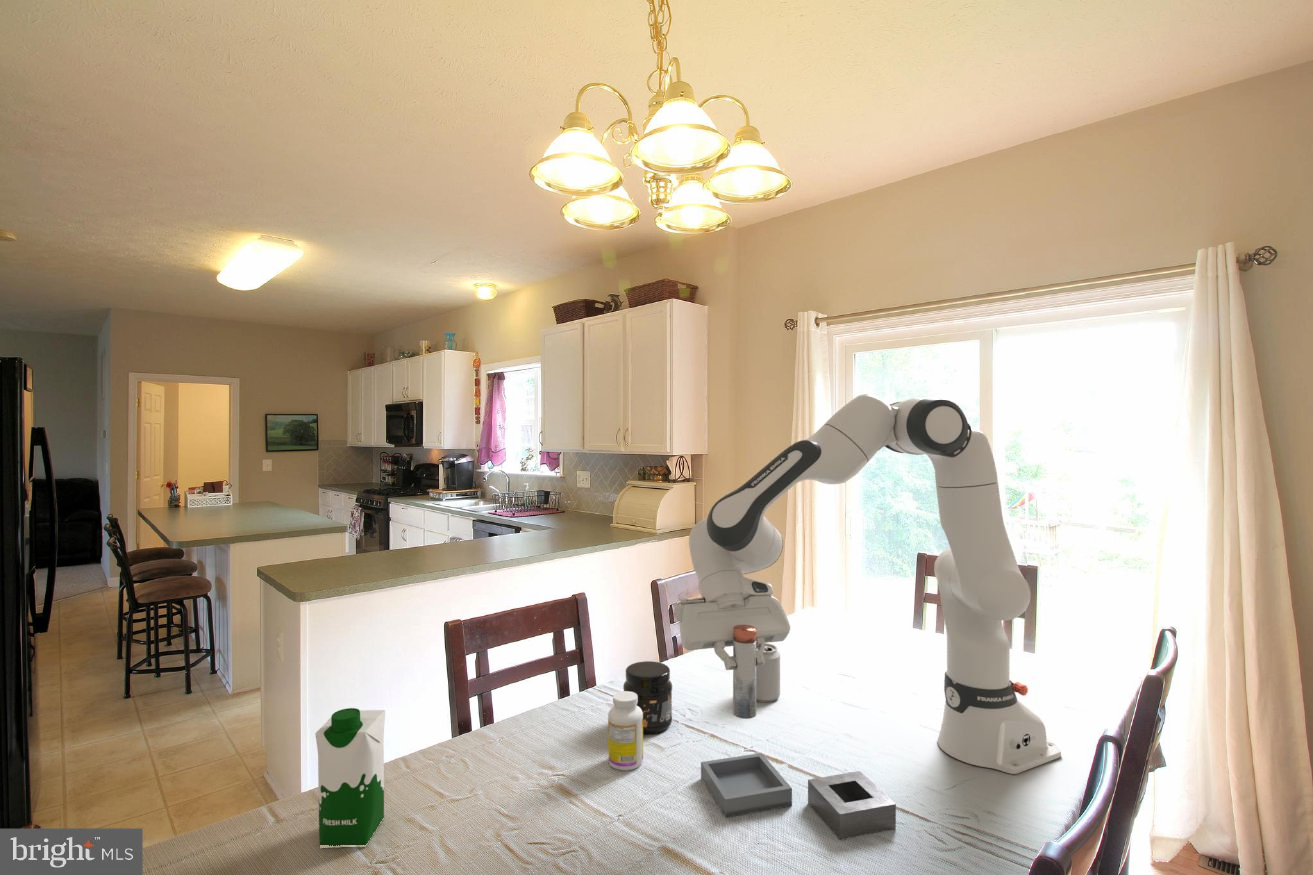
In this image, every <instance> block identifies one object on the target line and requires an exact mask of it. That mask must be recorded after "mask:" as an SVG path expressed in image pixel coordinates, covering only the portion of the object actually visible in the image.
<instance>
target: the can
mask: <svg viewBox="0 0 1313 875" xmlns="http://www.w3.org/2000/svg"><path fill="white" fill-rule="evenodd" d="M757 651H758V649H756V654H757ZM763 656H764V659H765V664H764V666H762V667H756V700H757V701H756V702H760V701H761V703H771V702H775V700H777V699H779V697H780V696H781V654H780V652H779V651H778V646H776V645H775V644H771V643H765V647H764V652H763Z"/></svg>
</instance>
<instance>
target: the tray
mask: <svg viewBox="0 0 1313 875" xmlns="http://www.w3.org/2000/svg"><path fill="white" fill-rule="evenodd" d="M700 780H701V781H702V782H703V784H704V786H705V787H706V789H707V790H708V792H709V793H710V795H711V797H712V799H713V800H714V802H715V803H716V805H717V807H718V808H719V810H720V811H721V813H722V815H723V816H724V818H731V817H736V816H742V815H747V814H752V813H758V812H765V811H770V810H775V809H780V808H787V807H792V806H793V787H792V786H791V785H790V784H789V783H788V782H787V780H785V778H784V777H783V776H782V775H781V774H780V772H779V771H778V770H777V769H776V768H775V767H774V766H773V764H772V763H771V762H770V761H769V759H768V758H766V756H765V755H764V753H762V752H758V753H753V754H745V755H740V756H739V755H738V756H733V757H732V756H731V757H725V758H718V759H713V760H712V759H711V760H706V761H705V760H704V761H701V762H700Z"/></svg>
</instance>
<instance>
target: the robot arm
mask: <svg viewBox="0 0 1313 875" xmlns="http://www.w3.org/2000/svg"><path fill="white" fill-rule="evenodd" d="M884 447H885V448H886V449H888V450H890V451H891V452H896V453H897V454H907V455H912V456H913V455H916V456H921V455H922V456H923V455H926V456H927V457H928V458H929V459H930V462H931V464H932V466H933V469H934V474H935V475H934V477H935V478H934V479H935V488H936V496H937V505H938V514H939V520H940V521H939V522H940V525H941V528H942V530H943V532H944V535H945V537H946V540H947V542H948V545H949V548H947V549H945V550H943V551H941V552H940V553H939V555H938V556H937V558H936V560H934V565H933V571H934V572H933V573H934V576H935V579H936V581H937V584H938V589H939V595H940V602H941V609H942V614H943V615H942V616H943V620H944V625H945V634H946V671H945V673H944V679H943V682H944V683H943V691H944V698H945V704H944V708H943V717H942V721H941V726H940V730H939V734H938V737H937V745H938V746H939V748H940V749H941V750H942V751H943V752H944V753H946V754H948V755H949V756H951V757H952V758H954V759H956V760H959V761H961V762H964V763H967V764H970V765H974V766H977V767H982V768H987V769H995V770H998V771H1001V772H1004V773H1007V774H1011V775H1012V774H1013V775H1017V774H1020V773H1023V772H1025V771H1028V770H1030V769H1032V768H1035V767H1038V766H1041V765H1043V764H1046V763H1048V762H1052V761H1054V760H1056V759H1059V758H1062V752H1061V749H1060V748H1059V747H1058V746H1057V745H1056V744H1055V743H1053V742H1052V741H1051V740H1050V739H1048V738H1047V731H1046V727H1045V723H1044V721H1043V720H1042V718H1040V716H1039V715H1038V714H1036V713H1035V712H1034V711H1032V710H1031V709H1030V708H1028V707H1027V706H1026V705H1025V704H1024V703H1022V702H1021V701H1020V700H1019V699H1018V697H1017V695H1016V693H1018V694H1019V695H1021V696H1026V695H1027V694H1028V693H1029V688H1028V686H1027V685H1025V684H1022V683H1021V682H1019V681H1017V682H1013V681H1012V680H1011V679H1010V658H1011V657H1010V650H1011V649H1010V647H1011V646H1010V641H1009V638H1008V636H1007V634H1006V631H1005V629H1004V625H1003V622H1002V621H1010V620H1015V619H1016V618H1018V617H1019V616H1021V615H1023V614H1024V613H1025V611H1026V610H1027V609H1028V607H1029V604H1030V601H1031V589H1030V585H1029V584H1028V581H1027V580H1026V579H1025V577H1024V576H1023V574H1022V572H1021V570H1020V567H1019V565H1018V563H1017V559H1016V556H1015V553H1014V551H1013V548H1012V544H1011V542H1010V539H1009V536H1008V533H1007V530H1006V527H1005V523H1004V517H1003V511H1002V504H1001V497H1000V496H1001V495H1000V494H1001V493H1000V488H999V480H998V472H997V467H996V463H995V459H994V455H993V452H992V448H991V445H990V442H989V439H988V438H987V436H986V434H985V432H982V431H981V430H979V429H977V428H975V427H974V428H973V427H971V425H970V423H969V422H968V419H967V417H966V415H965V413H964V411H963V410H962V409H961V407H960V406H959V405H958V404H957V403H956V402H954V401H952V400H950V399H948V398H945V397H941V396H927V397H922V396H921V397H913V398H910V399H907V400H903V401H897V402H893V403H890V404H889V403H888V402H886V401H885V400H884V399H882V398H881V397H879V396H877V395H874V394H869V393H866V394H860V395H858V396H856V397H855V398H852V400H850V401H849V402H848V403H846V404H845V405H844V406H842V407H841V408H840V409H839V410H837V411H836V412H835V413H834V414H833V415H832V416H831V417H830V418H829V419H828V420H827V421H826V422H825V423H824V424H823V425H822V426H821V427H820V428H819V429H818V430H817V431H815V432H814V433H813V434H812V435H810V436H809V437H808V438H806V439H804V440H803V439H802V440H799V441H796V442H794V443H792V444H791V445H790V446H788V447H787V448H785V449H784V450H783V451H781V452H780V453H779V454H778V455H777V456H775V458H773V459H772V460H770V462H768V463H767V464H766V465H764V467H762V468H761V469H760V470H759V471H758V472H757V473H756V474H754V475H753V476H752V477H751V478H750V479H748V480H747V481H746V482H745V483H744V484H742V485H740V487H738V488H736V489H735V490H733V491H731V492H729V493H727V494H725V495H724V496H723V497H721V498H719V499H718V500H717V501H716V502H715V503H714V504H713V505H712V507H711V508H710V510H709V512H708V515H707V518H704V519H701V520H700V521H698V522H697V523H696V524H695V525H694V526H693V527H692V528H691V529H690V533H689V537H688V545H689V546H688V547H689V553H690V557H691V563H692V567H693V570H694V572H695V573H696V575H697V578H698V589H699V594H700V597H696V598H691V599H688V598H683V599H681V600H680V601H679V602H677V603H676V604H675V606H674V613H675V618H676V619H677V621H678V622H679V632H680V633H679V634H680V639H681V645H682V646H683V648H684V649H686V650H687V651H696V650H698V651H699V650H707V649H713V650H714V654H715V655H716V656H717V657H718V658H719V659H720V660H721V661H722V662H723V664H724V667H725V670H726V671H733V670H734V669H735V668H736V662H735V658H734V656H733V655H732V656H730V655H729V653H728V652H727V651H726V649H725V648H726V647H733V627H734V626H737V625H751V626H754V627H756V649H758V651H757V654H756V667H762V666H764V664H765V659H764V656H763V652H764V647H765V643H768V644H770V643H777V642H778V643H779V642H784V641H785V640H786V638H787V637H788V636H789V634H790V632H791V625H790V621H789V618H788V617H787V614H786V611H785V610H784V608H783V606H782V603H781V602H780V601H779V599H777V598H776V597H775V596H773V594H774V588H773V586H772V584H770V583H767V582H765V581H764V582H763V581H758V580H754V579H751V578H748V577H745V576H744V575H748V574H751V573H755V572H759V571H762V570H766V569H767V568H769V567H771V566H773V565H774V564H775V563H776V562H777V561H778V560H779V558H780V556H781V554H782V552H783V548H784V539H783V536H782V534H781V533H780V531H779V530H778V529H777V528H776V527H775V525H774V524H773V523H772V522H771V521H770V520H769V519H768V518H767V517H766V516H765V513H766V512H767V510H768V508H769V507H771V506H772V505H773V504H774V503H776V502H777V501H778V500H779V499H780V498H781V497H782V496H784V495H785V493H788V491H789V490H791V489H792V488H793V487H794V486H795V485H797V484H798V483H801V482H803V481H816V482H819V483H822V484H827V485H840V484H841V485H842V484H844V483H847V482H848V481H849V480H851V479H853V478H854V477H855V476H856V475H857V474H858V473H860V472H861V470H862V469H863V468H864V467H865V466H866V465H867V464H868V463H869V462H870V461H871V459H872V458H873V457H874V456H875V455H876V453H877V452H878V451H881V449H883V448H884Z"/></svg>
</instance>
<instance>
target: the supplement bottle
mask: <svg viewBox="0 0 1313 875" xmlns="http://www.w3.org/2000/svg"><path fill="white" fill-rule="evenodd" d="M637 702H638V696H637V694H636V693H634V692H630V691H624V690H623V691H617V692H616V693H614V694H613V697H612V704H613V707H611V708H610V710H608V714H607V723H608V724H607V725H608V727H607V728H608V731H607V732H608V733H607V734H608V735H607V737H608V741H607V742H608V746H607V747H608V763H609V765H610V766H611V767H612V768H613V769H616V770H619V771H626V772H627V771H632V770H635V769H637V768H639V767H641V765H642V763H643V762H644V734H643V712H642V710H641V709H640V707H638V706H637Z"/></svg>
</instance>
